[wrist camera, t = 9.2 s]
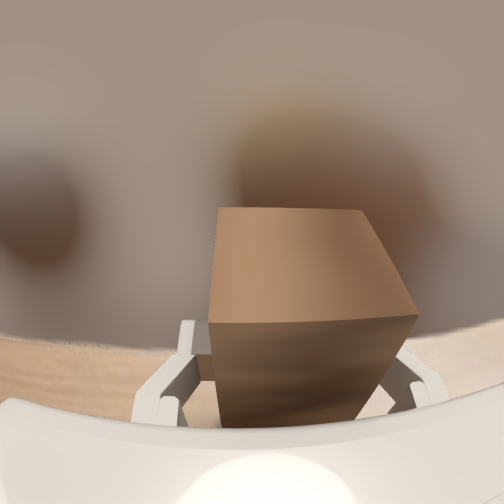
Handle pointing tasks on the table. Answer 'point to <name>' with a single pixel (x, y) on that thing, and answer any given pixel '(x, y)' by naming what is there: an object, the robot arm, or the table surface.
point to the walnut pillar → (301, 315)
